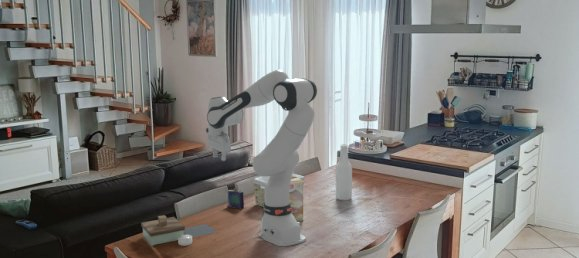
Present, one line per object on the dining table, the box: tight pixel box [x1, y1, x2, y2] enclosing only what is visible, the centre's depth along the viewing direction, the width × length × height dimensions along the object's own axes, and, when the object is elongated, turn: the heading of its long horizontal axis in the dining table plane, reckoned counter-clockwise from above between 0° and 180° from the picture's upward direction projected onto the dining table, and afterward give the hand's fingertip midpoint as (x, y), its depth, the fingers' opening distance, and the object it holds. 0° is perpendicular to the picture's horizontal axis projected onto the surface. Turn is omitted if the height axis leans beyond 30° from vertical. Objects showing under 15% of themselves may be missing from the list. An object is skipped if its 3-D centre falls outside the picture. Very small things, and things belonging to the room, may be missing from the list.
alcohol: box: [335, 143, 353, 201], centre depth 285 cm, size 9×9×30 cm
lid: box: [140, 214, 186, 237], centre depth 230 cm, size 15×15×5 cm
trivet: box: [183, 223, 218, 238], centre depth 238 cm, size 13×13×1 cm
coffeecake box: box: [289, 178, 304, 222], centre depth 252 cm, size 15×7×20 cm, turn 105°
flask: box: [227, 186, 245, 210], centre depth 273 cm, size 9×3×11 cm, turn 65°
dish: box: [142, 228, 185, 248], centre depth 230 cm, size 14×14×5 cm
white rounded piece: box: [177, 234, 193, 247], centre depth 223 cm, size 6×6×4 cm
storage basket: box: [252, 173, 305, 208], centre depth 278 cm, size 24×16×15 cm
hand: (219, 158), depth 252 cm, fingers open, 8 cm apart
